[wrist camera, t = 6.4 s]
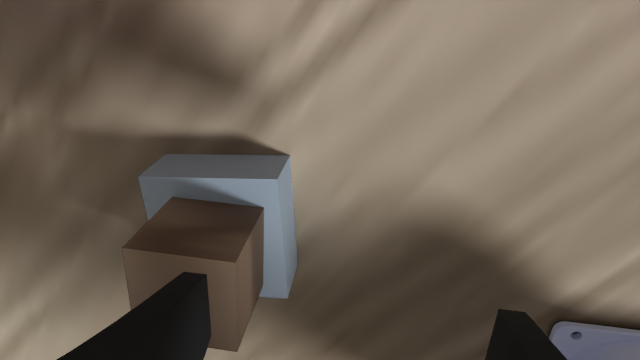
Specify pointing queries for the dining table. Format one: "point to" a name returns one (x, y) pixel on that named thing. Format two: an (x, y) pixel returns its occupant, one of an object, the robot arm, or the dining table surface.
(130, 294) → the walnut cube
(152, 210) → the base block
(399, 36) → the dining table surface
